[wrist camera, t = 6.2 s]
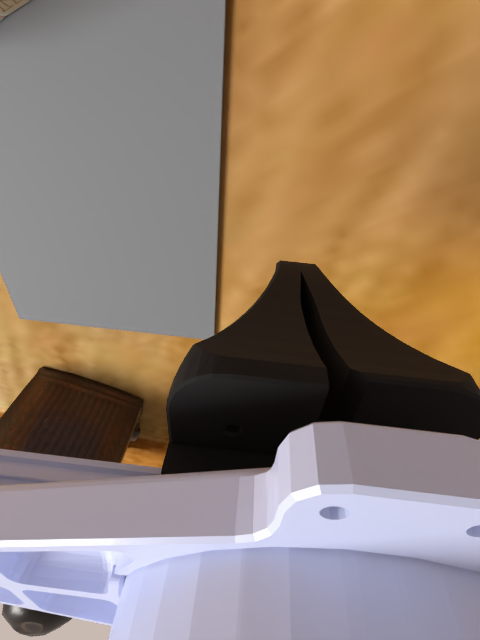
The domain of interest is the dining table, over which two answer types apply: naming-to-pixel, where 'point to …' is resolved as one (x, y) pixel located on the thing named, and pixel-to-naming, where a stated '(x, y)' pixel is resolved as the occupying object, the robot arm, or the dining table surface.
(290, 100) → the dining table surface
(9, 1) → the stack of blocks
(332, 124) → the dining table surface
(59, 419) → the coffee grinder
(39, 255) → the mat
